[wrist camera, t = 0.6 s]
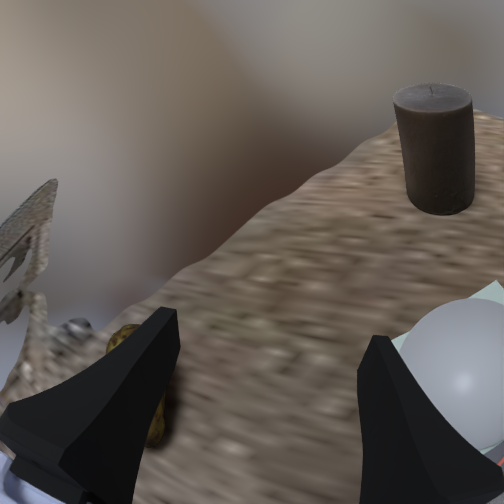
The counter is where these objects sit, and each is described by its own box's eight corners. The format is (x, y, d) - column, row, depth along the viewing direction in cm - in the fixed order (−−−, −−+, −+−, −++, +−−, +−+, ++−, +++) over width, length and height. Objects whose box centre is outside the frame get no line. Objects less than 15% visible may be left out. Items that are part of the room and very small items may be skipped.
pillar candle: (459, 225, 33) (457, 107, 23) (394, 201, 40) (373, 95, 30) (482, 182, 35) (480, 78, 25) (424, 164, 42) (410, 69, 33)
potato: (116, 438, 31) (65, 414, 26) (148, 347, 39) (108, 313, 34) (169, 456, 28) (115, 435, 22) (201, 351, 36) (161, 313, 31)
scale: (572, 412, 14) (584, 403, 12) (430, 511, 15) (434, 513, 14) (491, 283, 26) (495, 268, 24) (366, 353, 28) (363, 341, 26)
